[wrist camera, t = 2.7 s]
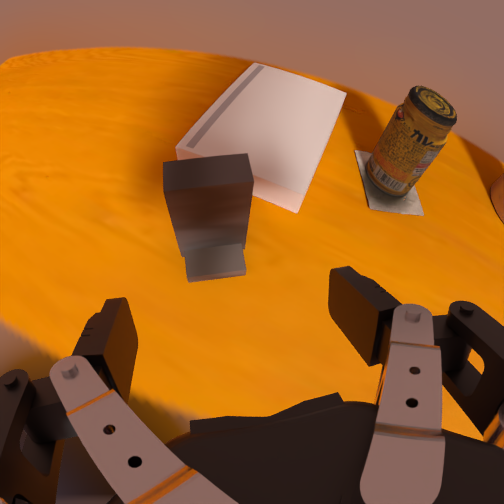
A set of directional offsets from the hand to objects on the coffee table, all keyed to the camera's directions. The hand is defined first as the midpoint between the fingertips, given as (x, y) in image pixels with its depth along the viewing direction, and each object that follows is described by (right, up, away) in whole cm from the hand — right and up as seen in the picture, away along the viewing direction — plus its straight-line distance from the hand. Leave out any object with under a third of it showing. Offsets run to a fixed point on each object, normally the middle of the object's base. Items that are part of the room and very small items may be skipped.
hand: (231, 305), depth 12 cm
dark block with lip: (-3, +2, +15) cm, 15 cm away
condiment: (+16, +10, +21) cm, 28 cm away
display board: (+3, +16, +22) cm, 27 cm away
